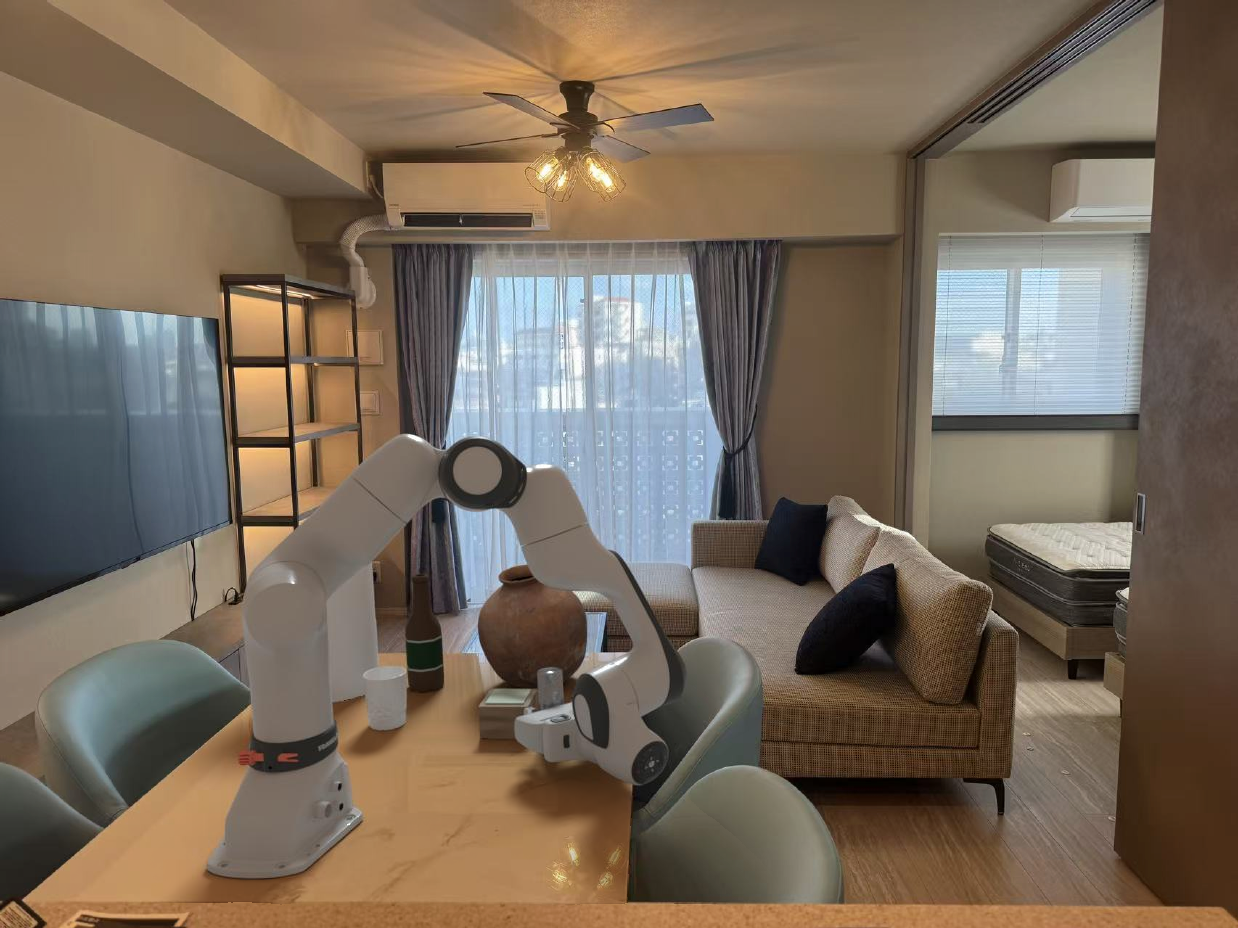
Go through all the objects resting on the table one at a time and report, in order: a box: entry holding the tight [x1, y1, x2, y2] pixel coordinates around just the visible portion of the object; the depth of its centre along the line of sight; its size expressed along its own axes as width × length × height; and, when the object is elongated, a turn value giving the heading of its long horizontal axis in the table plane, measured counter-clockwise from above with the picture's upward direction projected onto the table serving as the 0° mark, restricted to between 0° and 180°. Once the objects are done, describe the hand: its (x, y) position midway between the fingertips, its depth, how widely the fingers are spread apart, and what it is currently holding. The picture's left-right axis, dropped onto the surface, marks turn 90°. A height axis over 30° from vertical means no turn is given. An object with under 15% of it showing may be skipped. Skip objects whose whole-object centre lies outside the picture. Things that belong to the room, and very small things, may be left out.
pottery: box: [477, 564, 588, 689], centre depth 183 cm, size 23×23×25 cm
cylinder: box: [326, 561, 380, 703], centre depth 184 cm, size 17×17×28 cm
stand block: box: [477, 688, 539, 740], centre depth 161 cm, size 9×9×6 cm
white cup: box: [363, 665, 408, 731], centre depth 165 cm, size 8×8×10 cm
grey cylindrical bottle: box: [537, 667, 565, 711], centre depth 153 cm, size 5×5×13 cm
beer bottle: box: [404, 573, 445, 693], centre depth 184 cm, size 8×8×24 cm
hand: (551, 705), depth 153 cm, fingers open, 8 cm apart
